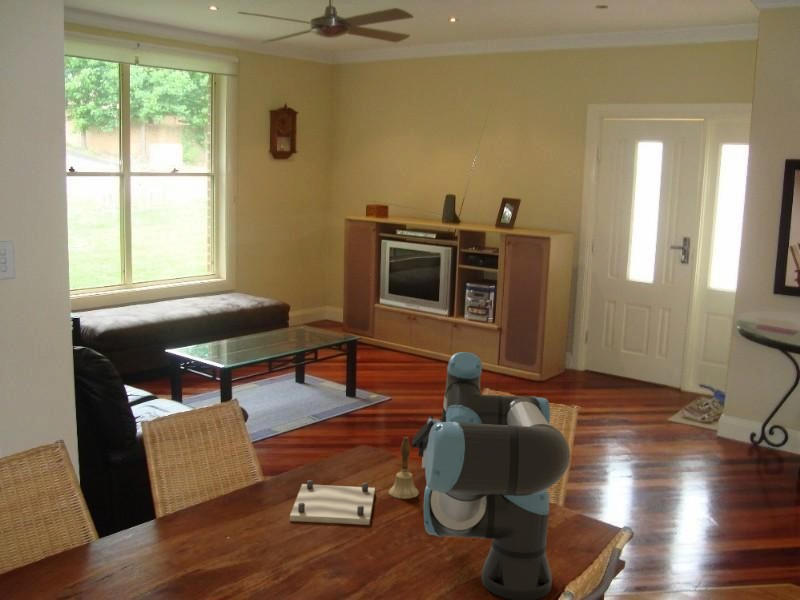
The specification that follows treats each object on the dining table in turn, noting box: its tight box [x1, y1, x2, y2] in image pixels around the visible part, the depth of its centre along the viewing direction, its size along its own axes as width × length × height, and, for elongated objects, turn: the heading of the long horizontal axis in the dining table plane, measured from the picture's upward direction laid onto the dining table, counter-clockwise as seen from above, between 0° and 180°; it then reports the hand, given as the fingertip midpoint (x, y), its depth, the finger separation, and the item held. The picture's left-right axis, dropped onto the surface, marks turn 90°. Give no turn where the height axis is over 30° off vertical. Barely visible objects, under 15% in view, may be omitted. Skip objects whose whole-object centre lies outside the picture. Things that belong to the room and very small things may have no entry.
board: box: [289, 479, 376, 526], centre depth 213 cm, size 20×20×4 cm
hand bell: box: [388, 436, 420, 500], centre depth 222 cm, size 8×8×16 cm
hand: (450, 465), depth 203 cm, fingers open, 13 cm apart
